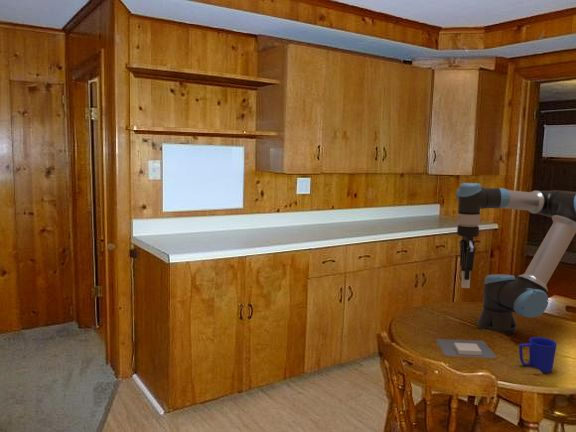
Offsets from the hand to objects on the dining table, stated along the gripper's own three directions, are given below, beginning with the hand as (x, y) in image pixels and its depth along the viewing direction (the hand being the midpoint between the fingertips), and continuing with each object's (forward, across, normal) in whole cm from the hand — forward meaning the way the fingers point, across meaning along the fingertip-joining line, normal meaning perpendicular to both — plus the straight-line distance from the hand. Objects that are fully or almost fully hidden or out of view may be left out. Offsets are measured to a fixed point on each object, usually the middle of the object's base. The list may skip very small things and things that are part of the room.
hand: (465, 287), depth 181 cm
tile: (+21, +5, -1) cm, 21 cm away
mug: (+24, +18, +19) cm, 35 cm away
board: (+23, +5, -1) cm, 24 cm away
